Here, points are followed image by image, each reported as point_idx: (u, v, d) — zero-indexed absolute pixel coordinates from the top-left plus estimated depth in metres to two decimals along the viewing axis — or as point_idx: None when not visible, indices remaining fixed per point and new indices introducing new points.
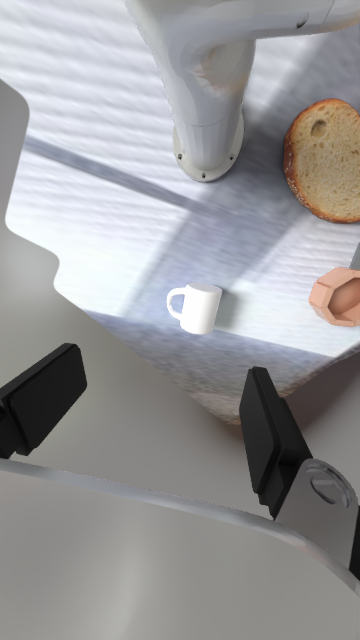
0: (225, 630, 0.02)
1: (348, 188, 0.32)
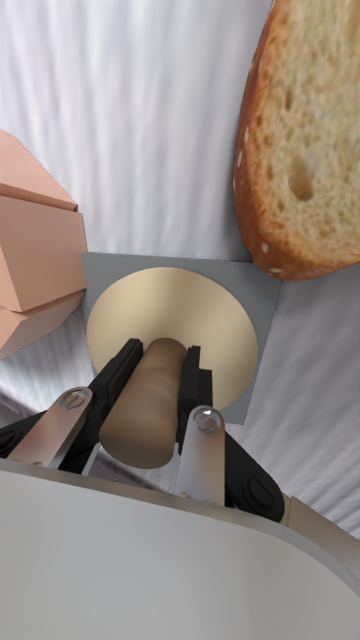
0: (225, 629, 0.02)
1: None
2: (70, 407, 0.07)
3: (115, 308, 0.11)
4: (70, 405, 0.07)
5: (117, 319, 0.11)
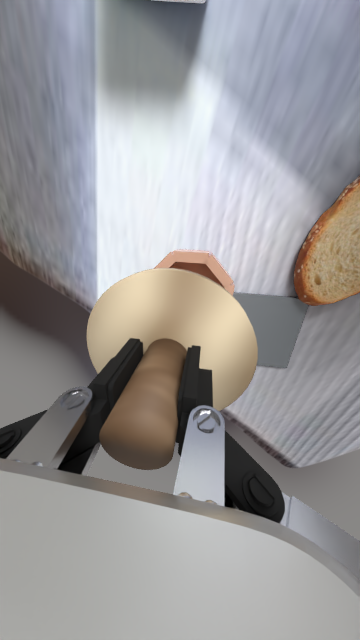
0: (225, 630, 0.02)
1: (354, 249, 0.21)
2: (70, 407, 0.07)
3: (115, 309, 0.11)
4: (70, 405, 0.07)
5: (117, 320, 0.11)
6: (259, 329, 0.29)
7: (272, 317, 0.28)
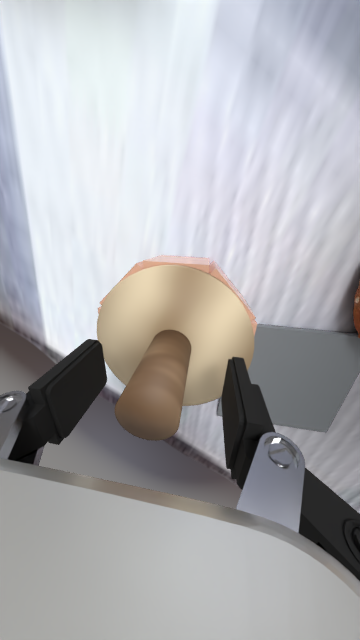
0: (225, 629, 0.02)
1: None
2: (1, 413, 0.06)
3: (124, 302, 0.12)
4: (1, 411, 0.06)
5: (125, 313, 0.12)
6: (288, 379, 0.18)
7: (310, 362, 0.17)
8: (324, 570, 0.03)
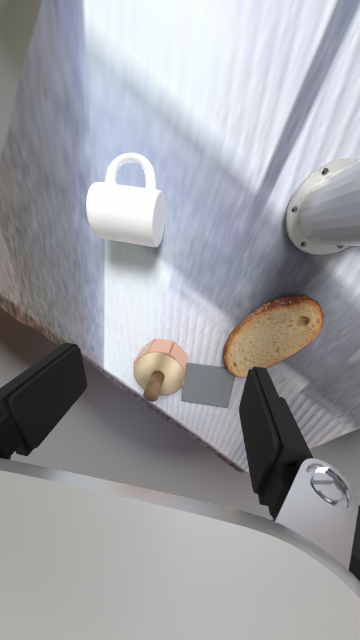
0: (225, 629, 0.02)
1: (251, 350, 0.38)
2: None
3: (143, 362, 0.38)
4: None
5: (143, 365, 0.39)
6: (207, 385, 0.45)
7: (214, 378, 0.44)
8: (324, 570, 0.03)
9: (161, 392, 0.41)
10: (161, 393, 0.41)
